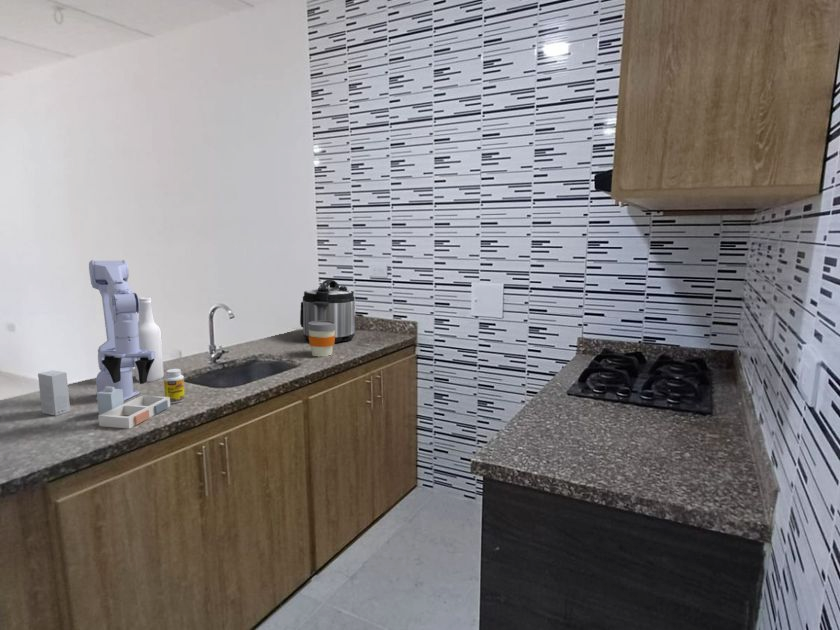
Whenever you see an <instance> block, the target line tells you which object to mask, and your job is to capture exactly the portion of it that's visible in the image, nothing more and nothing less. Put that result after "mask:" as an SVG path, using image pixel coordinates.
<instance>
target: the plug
mask: <svg viewBox="0 0 840 630" xmlns="http://www.w3.org/2000/svg"><path fill="white" fill-rule="evenodd" d="M96 397H97V399H96V400H97V409H98V416H99V415H101V414H103V413H105V412H107V411H110V410H112V409H114V408H116V407H118V406H120V405H123V404H125V402H124V401H125V400H124V401H123V389H115V387H108V386H107V387H105V390H103V391H101V392H98V393H97V392H96Z"/></svg>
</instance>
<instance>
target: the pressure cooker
mask: <svg viewBox="0 0 840 630" xmlns="http://www.w3.org/2000/svg"><path fill="white" fill-rule="evenodd" d="M355 301H356V300H355V296H354V291H351V290H348V287H347V286H346V285H341V286H340V284H338V282H337V281H335V280H333V279H326V280H323V282H322V283H321V284H320V285H319V286H318V288H317V289H308V290H306V291H305V290H304V292H303V296H302V301H301V302H300V311H299V312H300V314H299V315H300V317H299V322H300V323H299V325H300V327H301V328H302V334H303V338H304V339H305V340H307V341H308V342H309V336H308V335H309V330H308V323H309V322H312V321H333V322H335V324H336V329H335V342H334V343H340V342H347V341H350V340H353V338H354V336H355V330H356V329H355V325H356V324H355V319H356V318H355V317H356V316H355V312H356V309H355V306H356V305H355V304H356V303H355Z"/></svg>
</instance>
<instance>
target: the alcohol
mask: <svg viewBox="0 0 840 630" xmlns="http://www.w3.org/2000/svg"><path fill="white" fill-rule="evenodd" d="M138 299H139V313H138V333H139V348H140V350H147V351H155V355H156V358H154V361H153V363H152V365H151V367H150V370H149V373H148V377H147V382H146V383H152V382H157V381H159V380H161V379H163V377H165V376H164V358H163V343H162V342H163V340H162V339H163V338H162V330H161V328H160V326H159V325H158V323H156V322H155V320H154V313H153V307H152V302H153V301H152V298H151V297H149V296H148V297H147V296H146V297H143V296H142V297H138ZM138 360H140V358H137V361H138ZM134 369H135V373H134V374H135V379H136V380H137V382H139V373H138V369H137V366H135V367H134Z"/></svg>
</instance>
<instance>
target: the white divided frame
mask: <svg viewBox="0 0 840 630" xmlns="http://www.w3.org/2000/svg"><path fill="white" fill-rule="evenodd" d="M170 407H171V403H170V397H165V396H159V395H147V394H142V395H140V396H138V397H136V398H134V399H131V400H129V401H127V402H124V404H123V405H120V406H118V407H116V408H114V409H112V410H110V411H107V412H105V413H103V414H101V415H99V414H98V416H97V417H98V426H99V427H103V428H104V427H107V428H118V429H131V428H133V427H135V426H137V425H139V424H141V423H143V422H144V421H146V420H148V419H150V418H152V417H154V416H156V415H157V414H159V413H162V412H163V411H165V410H167V409H168V408H170Z"/></svg>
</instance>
